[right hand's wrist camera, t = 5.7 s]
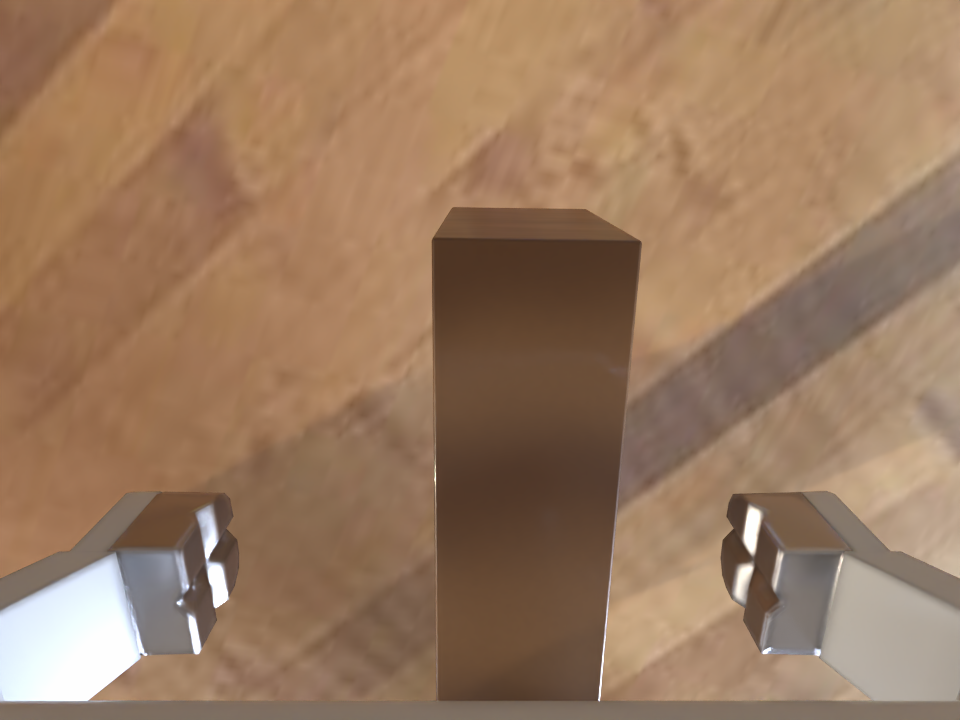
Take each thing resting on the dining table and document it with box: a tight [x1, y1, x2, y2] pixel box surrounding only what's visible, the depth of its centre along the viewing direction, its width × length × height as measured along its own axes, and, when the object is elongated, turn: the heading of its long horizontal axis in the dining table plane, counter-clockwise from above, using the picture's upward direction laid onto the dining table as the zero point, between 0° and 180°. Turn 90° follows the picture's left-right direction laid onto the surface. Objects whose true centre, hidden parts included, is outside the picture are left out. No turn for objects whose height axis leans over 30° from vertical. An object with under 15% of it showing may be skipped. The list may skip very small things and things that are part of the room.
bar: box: [432, 207, 642, 701], centre depth 22 cm, size 28×5×8 cm, turn 179°
